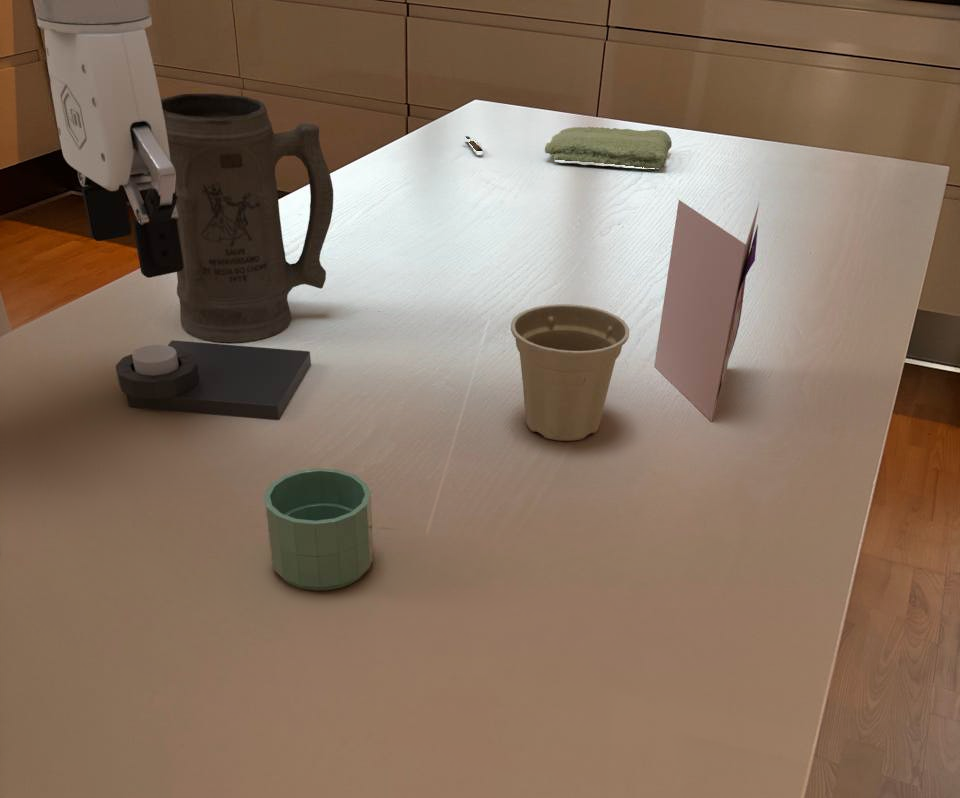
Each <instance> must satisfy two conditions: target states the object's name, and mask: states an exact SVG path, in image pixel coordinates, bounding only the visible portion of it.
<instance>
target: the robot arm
mask: <svg viewBox="0 0 960 798" xmlns="http://www.w3.org/2000/svg"><path fill="white" fill-rule="evenodd" d="M32 2H33V8H34V12H35V17H36V22H37V26H38V27H39V28H40V29H42V30H43V33H44V34H43V35H44V45H45V55H46V62H47V70H48V71H47V72H48V78H49V84H50V91H51V96H52V103H53V108H54V115H55V120H56V125H57V132H58V138H59V143H60V148H61V152H62V156H63V159H64V161H65V162H66V163H67V165H69V166H70V167H71V168H73V169H74V170H75V171H77V177H78V181H79V183H80V185H81V186H82V188H81V193H82V196H83V202H84V208H85V211H86V212H85V213H86V217H87V223H88V227H89V232H90V236H91V238H92V239H93V240H95V241H96V242H103V241H107V240H114V239H118V238H124V237H129V236H130V235H131V234H132V232H133V235H134V239H135V246H136V251H137V256H138V262H139V268H140V269H139V270H140V273H141V274H142V275H143V276H144V277H145V278H146V279H147V278H148V279H150V278H151V279H152V278H156V277H160V276H164V275H165V276H166V275H168V274H169V275H170V274H174V273H177V272H179V271H181V270H182V269H183V267H184V265H183V258H182V252H181V245H180V238H179V232H178V225H177V218H178V211H177V208H176V202H177V196H176V191H175V182H176V171H175V168H174V166H173V164H172V163H171V161H170V153H169V145H168V138H167V132H166V126H165V120H164V114H163V109H162V104H161V99H162V98H161V95H160V89H159V85H158V79H157V75H156V71H155V65H154V61H153V57H152V53H151V48H150V44H149V41H148V37H147V33H146V29H148V28H149V27H151V26H152V25H153V21H152V15H151V7H150V1H149V0H32ZM138 174H140V175H138ZM131 175H132V176H131ZM144 190H145V191H146V190H147V192H146V194H145V195H146V196H145V199H143V198H142V195H141V193H140V191H144ZM126 196H127V197H126ZM127 199H128V201H129V203H130V205H131V208H132V210H133V213H134V215H135V218H136V220H135V221H132V222H131V219H130V214H129V207H128V202H127ZM131 223H132V224H131ZM132 228H133V231H132Z"/></svg>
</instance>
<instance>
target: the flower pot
mask: <svg viewBox="0 0 960 798" xmlns="http://www.w3.org/2000/svg"><path fill="white" fill-rule="evenodd" d="M510 331H511V334H512V337H514V338H515V339H514V340H515V347H516V348H517V351H518V352H519V360H520V367H521V368H520V370H521V379H522V390H523V399H524V400H523V402H524V415H525V423H526V426H527V427H528V429H529V430H530V431H531V432H532V433H535V432H538V433H539V434H540V435H542V436H543V437H544V438H545V439H548V440H552V441H553V440H554V441H561V442H562V441H564V442H565V441H567V442H569V441H580V440H583V439H584V438H586V437H587V436H588V435H590V434H595V433H596V432H597V431H598V430H599V427H600V424H601V419H602V414H603V411H604V406H605V402H606V400H607V395H608V392H609V387H610V383H611V380H612V376H613V371H614V367H615V364H616V360H617V359H618V358H619V356H620V354H621V352H622V349H623V345H625V344H626V343H627V341H628V339H629V337H630V328H629V325H628V324H627V323H626V322H625V320H623V319H622V318H621V317H619V315H616V314H613V313H612V312H609V311H607V310H604V309H600V308H597V307H593V306H589V305H581V304H573V303H571V304H570V303H569V304H568V303H564V304H562V303H559V304H557V303H556V304H545V305H540V306H535V307H532V308H529V309H526V310H523V311H521V312H519V313H517V314H516V315H515V316H514V317H513V318H512V320H511V322H510Z"/></svg>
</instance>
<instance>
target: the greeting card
mask: <svg viewBox="0 0 960 798" xmlns="http://www.w3.org/2000/svg"><path fill="white" fill-rule="evenodd" d="M759 207H760V202H758V204H757V207H756V210H755V212H754V216H753V219H752V223H751V226H750V228H749V232H748V236H747V239H746V241H745V243H744V242H743V241H742V240H740V239H738V238H737V237H736V236H734V235H733V234H732V233H730V232H728V231H726V230H725V229H724V228H722V227H721V226H719V225H718V224H716V223H715V222H713V221H712V220H710V219H709V218H707V217H706V216H704V215H703V214H701V213H700V212H698V211H696V210H695V209H694V208H692V207H690V206H689V205H687V204H686V203H685V202H683V201H682V200H680V199H678V203H677V209H676V216H675V222H674V229H673V237H672V243H671V249H670V256H669V262H668V263H669V264H668V269H667V277H666V283H665V291H664V298H663V304H662V310H661V317H660V324H659V331H658V337H657V345H656V351H655V359H654V365H653V367H654V368H655V369H656V370H657V371H659V373H660V374H662V376H664V377H665V379H666V380H668V381H669V382H670V383H671V384H672V385H673V386H674V387H675V388H676V389H677V390H678V391H679V392H680V393H681V394H682V395H683V396H684V397H685V398H686V399H687V400H688V401H689V402H690V403H691V404H692V405H693V406H694V407H695V408H697V410H699V412H701V413H702V414H703V415H704V416H705V417H706V418H707V419H708V420H709V421H710V422H713V419H714V415H715V412H716V409H717V405H718V402H719V398H720V394H721V391H722V386H723V383H724V380H725V376H726V372H727V370H728V364H729V360H730V357H731V354H732V351H733V348H734V346H735V342H736V339H737V337H738V332H739V327H740V323H741V317H742V311H743V302H744V295H745V288H746V278H747V275H748V273H749V272H750V269H751V268H752V266H753V265H754V263H755V261H756V252H757V241H758V230H759V224H757V225H756V222H757V216H758V211H759ZM755 228H756V229H755Z"/></svg>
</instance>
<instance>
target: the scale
mask: <svg viewBox="0 0 960 798" xmlns="http://www.w3.org/2000/svg"><path fill="white" fill-rule="evenodd" d="M166 345H167V346H170V347H173V348H174V349H175V350H176V352H177V358H178V364H179V368H178V369H177V370H175V371H173V372H170V373H168V374H162V375H155V376H151V375H141V374H139V373H136V371H135V368H134V362H133V357H132V354H133V353H131V354H127V355H125V356H124V357H122V358H121V359H120V360H119V361H118V362H117V363H116V364H115V371H116V376H117V380H118V385H119V388H120V390H121V392H122V393H124V394H125V395H126V401H127V404H128V408H132V409H133V408H134V409H144V410H154V411H168V412H177V413H191V414H202V415H214V416H225V417H238V418H249V419H260V420H262V419H263V420H272V421H279V420H280V419H281V417H282V416H283V414H284V412H285V411H286V408H287V407H288V405H289V404H290V402H291V400H292V398H293V397H294V395H295V394H296V392H297V390H298V388H299V386H300V385H301V384H302V381H303V380H304V378H305V376H306V374H307V373H308V371H309V369H310V368H311V366H312V362H311V361H312V360H311V350H310V351H309V350H297V349H286V348H285V349H284V348H274V347H273V348H272V347H259V346H247V345H236V344H223V343H222V344H221V343H211V342H199V341H185V340H174V339H172V340H170V342H169V343H168V344H166Z"/></svg>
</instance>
